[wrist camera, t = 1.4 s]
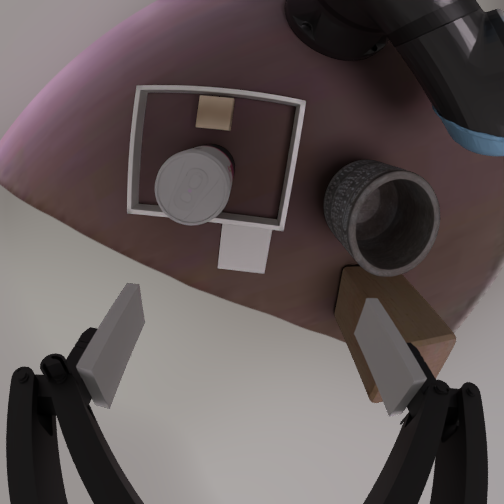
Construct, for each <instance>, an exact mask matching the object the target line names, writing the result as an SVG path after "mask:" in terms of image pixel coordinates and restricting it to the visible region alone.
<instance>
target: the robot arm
mask: <svg viewBox="0 0 504 504" xmlns="http://www.w3.org/2000/svg"><path fill="white" fill-rule="evenodd" d="M285 13H286V17H287V20H288V22H289V25H290V26H291V28H292V30H293V31H294V32H295V34H296V35H297V36H298V37H299V38H300V39H301V40H302V41H303V42H304V43H305V44H307V45H308V46H309V47H311V48H312V49H314V50H316V51H317V52H319V53H321V54H323V55H326V56H329V57H332V58H335V59H340V60H360V59H364V58H367V57H369V56H371V55H373V54H375V53H377V52H378V51H380V50H381V49H382V48H383V47H384V46H385V45H386V44H387V42H388V40H390V41H391V43H392V44H393V45H394V47H395V48H396V49H397V51H398V52H399V53H400V55H401V56H402V58H403V59H404V60H405V62H406V63H407V65H408V66H409V68H410V69H411V71H412V72H413V74H414V75H415V77H416V78H417V80H418V81H419V83H420V85H421V86H422V88H423V90H424V91H425V93H426V95H427V96H428V98H429V100H430V102H431V103H432V107H433V110H434V111H435V113H436V114H437V115H438V117H440V118H441V120H442V122H443V124H444V125H445V127H446V129H447V131H448V133H449V134H450V136H451V137H452V138H453V140H454V141H455V142H457V143H458V144H460V145H461V146H462V147H463V148H465V149H467V150H469V151H472V152H474V153H478V154H482V155H488V156H504V11H502V10H501V9H495V10H492V11H489V12H484V11H483V10H482V9H481V7H480V6H479V4H478V3H477V2H476V0H286V3H285ZM144 323H145V320H144V314H143V307H142V301H141V293H140V286H139V284H132V283H127V284H126V286H125V287H124V288H123V290H122V291H121V293H120V295H119V296H118V298H117V299H116V301H115V302H114V304H113V305H112V307H111V309H110V310H109V312H108V313H107V315H106V316H105V318H104V320H103V321H102V323H101V324H100V326H99V328H98V329H96V328H91V327H90V328H89V329H87V330H86V331H85V332H84V333H82V335H81V336H80V338H79V340H78V342H77V343H76V344H75V347H74V348H73V349H72V351H71V353H70V354H69V356H68V358H67V359H65V358H64V356H62V355H60V354H50V355H48V356H46V357H45V358H44V359H43V360H42V362H41V364H40V369H41V371H42V373H43V374H44V375H35V374H34V372H33V371H32V369H30V368H29V367H20V368H18V369H17V370H15V372H14V373H13V375H12V379H11V386H10V394H9V402H8V414H7V434H6V457H7V475H8V487H9V495H10V502H11V504H68V502H67V498H66V494H65V489H64V484H63V478H62V473H61V466H60V459H59V452H58V451H59V450H58V441H57V429H56V416H57V418H58V421H59V424H60V427H61V430H62V433H63V436H64V439H65V441H66V444H67V447H68V449H69V452H70V454H71V457H72V459H73V462H74V464H75V465H76V468H77V471H78V473H79V475H80V477H81V479H82V481H83V483H84V485H85V487H86V489H87V491H88V493H89V495H90V497H91V499H92V501H93V503H94V504H144V503H143V502H142V500H141V499H140V497H139V496H138V494H137V493H136V491H135V490H134V488H133V487H132V485H131V484H130V482H129V481H128V479H127V477H126V476H125V474H124V472H123V471H122V469H121V467H120V466H119V464H118V462H117V460H116V459H115V457H114V455H113V453H112V451H111V449H110V447H109V445H108V443H107V441H106V440H105V438H104V435H103V434H102V431H101V429H100V427H99V425H98V423H97V421H96V418H95V416H94V414H93V412H92V410H91V407H90V405H89V403H90V401H91V399H92V400H93V402H94V403H95V405H97V406H101V407H104V408H109V409H110V406H111V404H112V401H113V398H114V396H115V393H116V391H117V388H118V385H119V383H120V380H121V378H122V375H123V373H124V370H125V368H126V365H127V362H128V360H129V358H130V356H131V353H132V351H133V349H134V346H135V344H136V341H137V339H138V337H139V335H140V332H141V330H142V328H143V326H144ZM354 335H355V337H356V339H357V341H358V343H359V346H360V348H361V350H362V352H363V355H364V357H365V359H366V362H367V364H368V366H369V369H370V371H371V373H372V376H373V378H374V380H375V383H376V385H377V387H378V390H379V392H380V395H381V397H382V400H383V402H384V405H385V407H386V410H387V412H388V415H389V416H393V415H398V414H401V413H402V412H403V411H404V410H405V408H406V407H407V408H408V410H409V413H408V414H407V415H406V417H405V418H404V419H403V420H402V421H401V423H400V424H402V423H403V422H404V423H403V425H402V428H401V431H400V433H399V435H398V437H397V440H396V442H395V444H394V447H393V449H392V451H391V453H390V455H389V457H388V460H387V461H386V464H385V466H384V468H383V470H382V471H381V473H380V475H379V477H378V479H377V481H376V483H375V484H374V486H373V488H372V490H371V492H370V493H369V495H368V497H367V498H366V500H365V502H364V503H363V504H418V502H419V500H420V497H421V495H422V492H423V490H424V487H425V485H426V482H427V480H428V477H429V474H430V471H431V469H432V465H433V462H434V460H435V469H434V479H433V487H432V494H431V501H430V504H487V491H488V459H487V458H488V457H487V441H486V430H485V421H484V413H483V406H482V400H481V395H480V391H479V389H478V387H477V386H476V385H475V384H473V383H470V382H467V383H464V384H463V386H462V387H461V388H460V389H453V388H449V386H448V385H447V384H446V383H445V382H443V381H441V380H436V379H435V377H434V375H433V374H432V372H431V370H430V368H429V367H428V365H427V363H426V362H424V359H423V357H422V356H421V354H420V352H419V350H418V349H417V348H416V347H415V346H414V345H413V344H412V343H411V342H410V343H406V342H405V340H404V339H403V337H402V335H401V334H400V332H399V331H398V329H397V328H396V326H395V324H394V323H393V321H392V320H391V318H390V317H389V315H388V314H387V312H386V310H385V309H384V307H383V306H382V304H381V303H380V301H379V300H378V298H366V301H365V304H364V307H363V310H362V313H361V316H360V319H359V321H358V324H357V327H356V330H355V332H354ZM435 456H436V457H435Z"/></svg>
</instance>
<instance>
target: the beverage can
mask: <svg viewBox="0 0 504 504" xmlns="http://www.w3.org/2000/svg"><path fill="white" fill-rule="evenodd" d="M234 173H235V163H234V160H233V157H232V156H231V154H230V153H229V152H228V151H227V150H226V149H225V148H223V147H221V146H219V145H215V144H206V145H202V146H199V147H195V148H192V149H188V150H185V151H182V152H179V153H177V154H175V155H173V156H171V157H170V158H169V159H168V160H167V161H166V162H165V163H164V164H163V165H162V167H161V168H160V170H159V172H158V174H157V177H156V181H155V196H156V200H157V203H158V205H159V207H160V208H161V210H162V211H163V212H164V214H165V215H167V216H168V217H169V218H170V219H172V220H173V221H175V222H177V223H180V224H184V225H199V224H203V223H206V222H208V221H210V220H212V219H214V218H215V217H216V216H218V215H219V214H220V213H221V212H222V210H223V209H224V208H225V206H226V204H227V202H228V199H229V195H230V191H231V186H232V182H233V177H234Z"/></svg>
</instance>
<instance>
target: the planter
mask: <svg viewBox="0 0 504 504" xmlns="http://www.w3.org/2000/svg"><path fill="white" fill-rule="evenodd" d="M324 215H325V219H326V222H327V224H328V226H329V228H330V230H331V231H332V233H333V234H334V235H335V237H336V238H337V239H338V240H339V241H340V242H341V243H342V245H343V246H344V247H345V249H346V250H347V251H348V252H349V254H350V255H351V256H352V257H353V258H354V259H355V261H356V262H357V263H358V264H359V265H360V266H361V267H362V268H363V269H364V270H365V271H367V272H369V273H371V274H373V275H376V276H381V277H392V276H397V275H400V274H403V273H406V272H408V271H410V270H411V269H413V268H414V267H416V266H417V265H418V264H419V263H420V262H421V261H422V260H423V259H424V258H425V257H426V255H427V254H428V252H429V251H430V249H431V248H432V246H433V244H434V241H435V239H436V236H437V233H438V229H439V224H440V208H439V203H438V199H437V197H436V194H435V192H434V190H433V189H432V187H431V186H430V184H429V183H428V182H427V181H426V180H425V179H424V178H422V177H421V176H419V175H417V174H415V173H413V172H410V171H407V170H404V169H401V168H398V167H395V166H391V165H388V164H385V163H382V162H378V161H374V160H358V161H354V162H352V163H349V164H347V165H346V166H344V167H343V168H341V169H340V170H339V171H338V172H337V173H336V174H335V175H334V177H333V178H332V179H331V181H330V183H329V185H328V187H327V189H326V193H325V197H324Z"/></svg>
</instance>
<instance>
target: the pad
mask: <svg viewBox="0 0 504 504" xmlns="http://www.w3.org/2000/svg"><path fill="white" fill-rule="evenodd" d="M271 233H272V230H271V229H263V228H256V227H248V226H240V225H231V224H223V223H222V232H221V241H220V250H219V260H218V268H220V269H229V270H237V271H246V272H255V273H264V272H265V266H266V261H267V256H268V250H269V245H270V239H271Z"/></svg>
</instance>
